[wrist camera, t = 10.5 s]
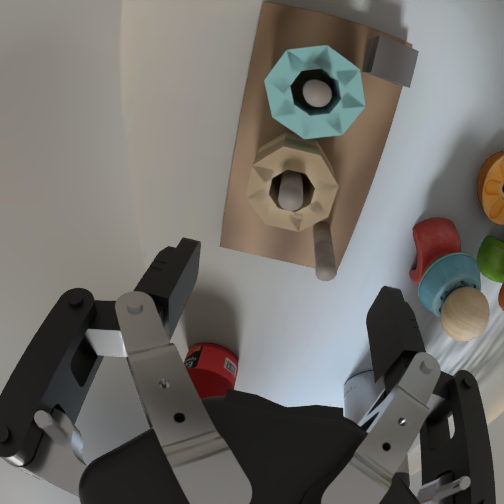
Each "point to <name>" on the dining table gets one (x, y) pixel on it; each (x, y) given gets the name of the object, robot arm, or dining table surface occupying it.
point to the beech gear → (300, 160)
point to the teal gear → (314, 118)
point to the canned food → (211, 369)
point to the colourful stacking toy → (461, 262)
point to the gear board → (335, 147)
